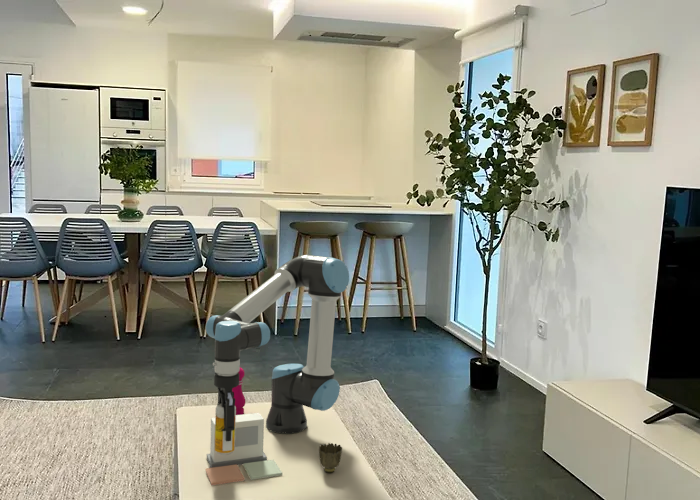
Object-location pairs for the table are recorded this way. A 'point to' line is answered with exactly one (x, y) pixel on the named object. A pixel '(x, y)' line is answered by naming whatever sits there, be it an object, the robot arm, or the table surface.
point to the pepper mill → (239, 394)
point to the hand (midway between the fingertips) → (225, 445)
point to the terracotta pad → (224, 474)
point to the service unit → (241, 442)
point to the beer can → (219, 433)
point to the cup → (330, 456)
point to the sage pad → (262, 469)
